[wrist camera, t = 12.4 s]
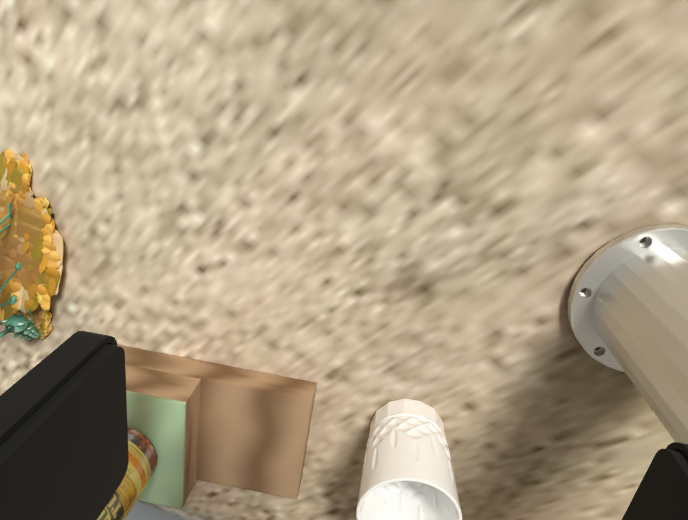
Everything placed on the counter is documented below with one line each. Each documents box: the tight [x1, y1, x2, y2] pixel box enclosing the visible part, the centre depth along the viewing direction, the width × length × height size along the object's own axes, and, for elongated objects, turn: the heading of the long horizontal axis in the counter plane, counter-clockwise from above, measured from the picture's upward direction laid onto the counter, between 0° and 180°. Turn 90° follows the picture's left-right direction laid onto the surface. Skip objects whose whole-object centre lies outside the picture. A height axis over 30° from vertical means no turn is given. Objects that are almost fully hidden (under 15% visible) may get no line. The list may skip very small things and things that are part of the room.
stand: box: [117, 345, 317, 509], centre depth 45 cm, size 20×12×6 cm, turn 81°
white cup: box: [356, 399, 462, 520], centre depth 41 cm, size 8×8×10 cm
